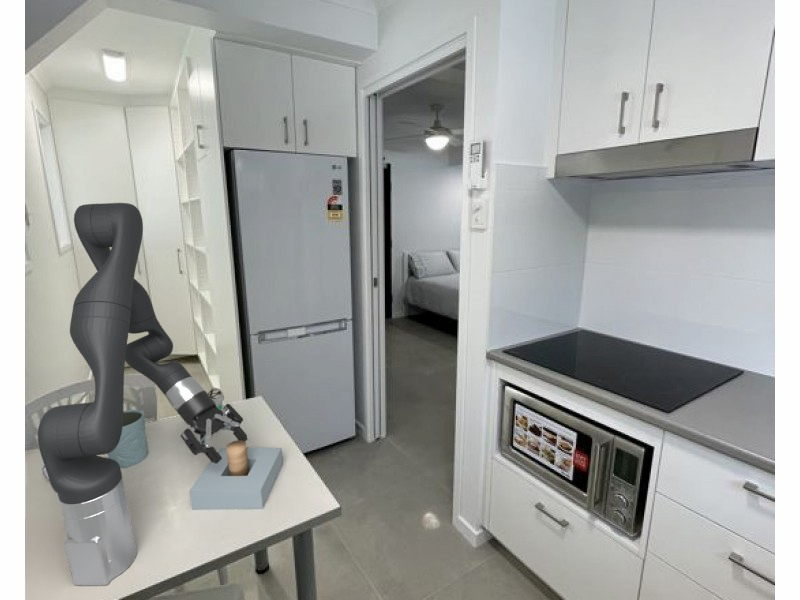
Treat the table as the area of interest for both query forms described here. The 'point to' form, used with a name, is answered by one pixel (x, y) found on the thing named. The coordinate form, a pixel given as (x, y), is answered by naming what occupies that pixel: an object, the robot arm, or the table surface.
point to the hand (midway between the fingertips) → (232, 451)
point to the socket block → (237, 482)
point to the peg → (237, 458)
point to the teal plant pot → (131, 440)
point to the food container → (217, 397)
